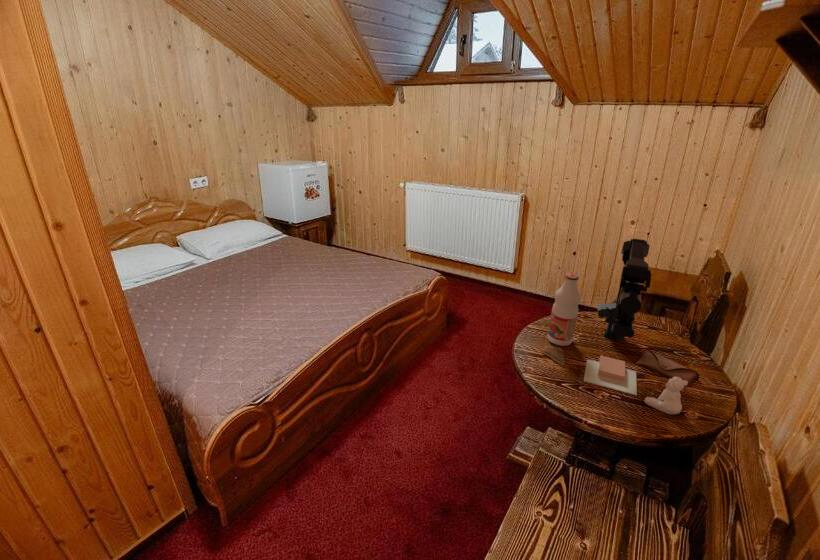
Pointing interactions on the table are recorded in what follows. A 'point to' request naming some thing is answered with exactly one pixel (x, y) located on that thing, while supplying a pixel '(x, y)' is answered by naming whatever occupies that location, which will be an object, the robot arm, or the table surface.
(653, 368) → the sunglasses case
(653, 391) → the table surface
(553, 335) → the fruit juice
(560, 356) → the shard
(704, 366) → the table surface
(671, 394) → the sitting furry creature
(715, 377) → the table surface
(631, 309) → the robot arm
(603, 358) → the glazed tile
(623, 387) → the felt mat
